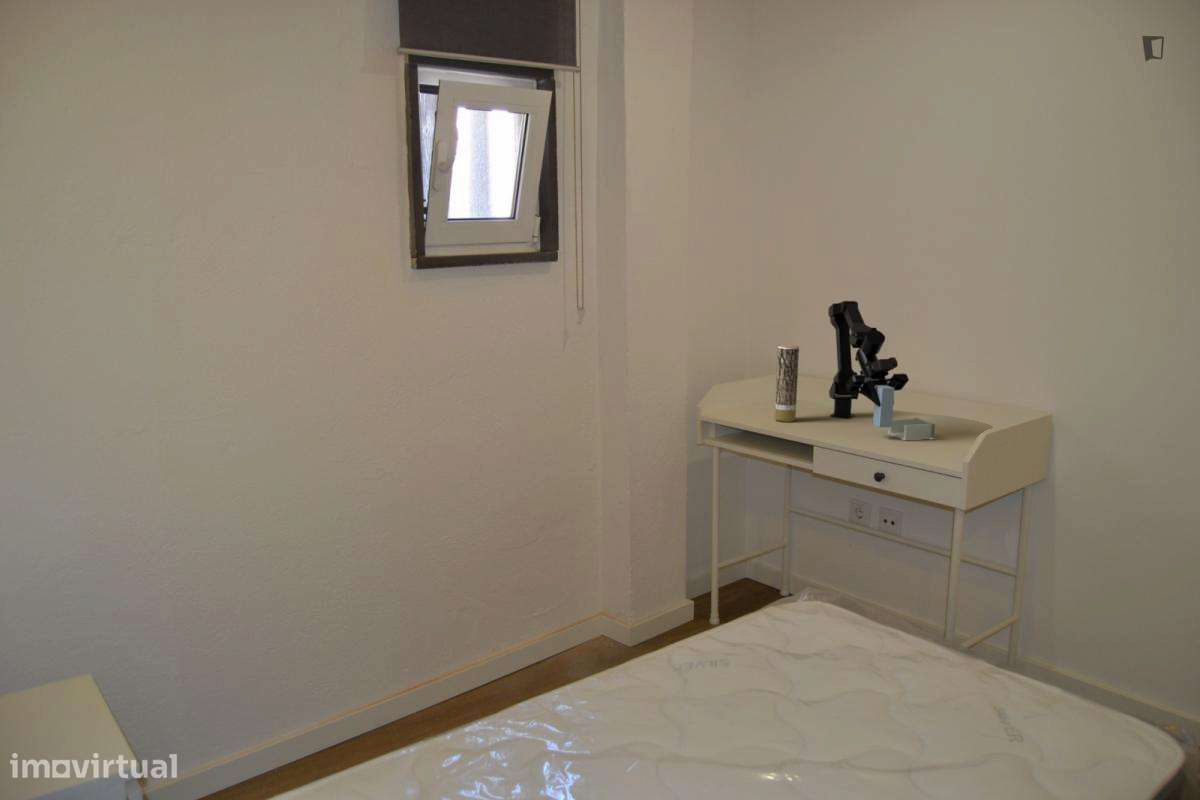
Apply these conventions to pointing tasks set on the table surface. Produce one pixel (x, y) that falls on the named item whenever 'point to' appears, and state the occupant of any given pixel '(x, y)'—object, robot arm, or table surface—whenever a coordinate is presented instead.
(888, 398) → the peg
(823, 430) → the table surface
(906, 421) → the slot bay
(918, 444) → the table surface
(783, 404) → the paper tube
